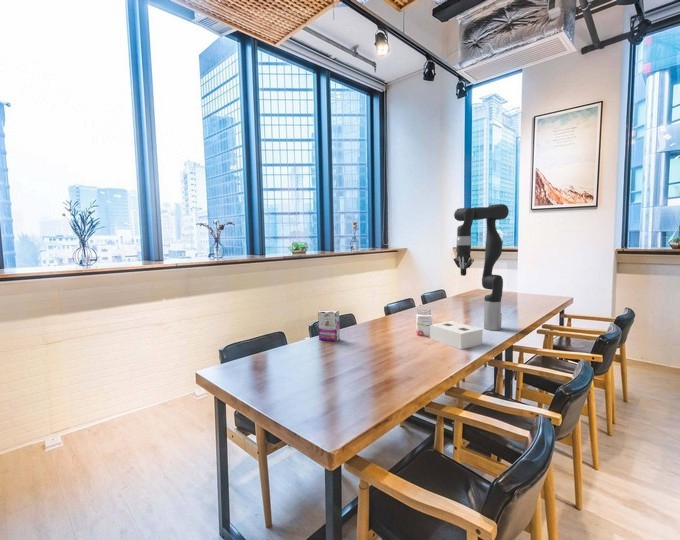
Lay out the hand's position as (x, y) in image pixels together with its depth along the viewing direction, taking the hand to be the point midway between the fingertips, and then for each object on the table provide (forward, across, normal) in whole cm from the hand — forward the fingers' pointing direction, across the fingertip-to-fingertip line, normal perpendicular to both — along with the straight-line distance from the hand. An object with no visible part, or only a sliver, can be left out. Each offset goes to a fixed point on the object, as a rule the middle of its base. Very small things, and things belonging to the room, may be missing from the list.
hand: (463, 275), depth 197 cm
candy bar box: (+35, +37, +66) cm, 83 cm away
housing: (+35, -4, +10) cm, 37 cm away
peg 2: (+34, -10, +10) cm, 37 cm away
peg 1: (+34, +1, +10) cm, 36 cm away
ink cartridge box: (+35, +15, +15) cm, 41 cm away
